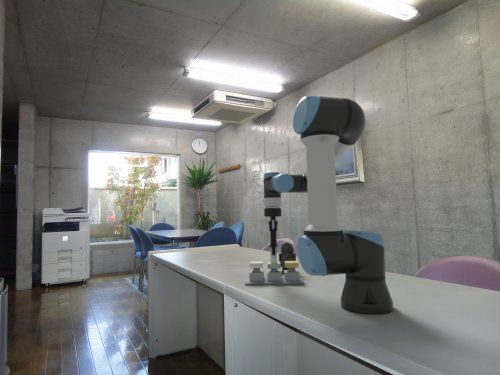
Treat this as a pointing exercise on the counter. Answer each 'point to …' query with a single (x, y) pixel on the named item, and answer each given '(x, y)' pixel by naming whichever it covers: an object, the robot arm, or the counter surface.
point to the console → (274, 278)
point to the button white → (256, 266)
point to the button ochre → (291, 265)
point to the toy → (286, 255)
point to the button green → (274, 266)
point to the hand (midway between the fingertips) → (273, 262)
